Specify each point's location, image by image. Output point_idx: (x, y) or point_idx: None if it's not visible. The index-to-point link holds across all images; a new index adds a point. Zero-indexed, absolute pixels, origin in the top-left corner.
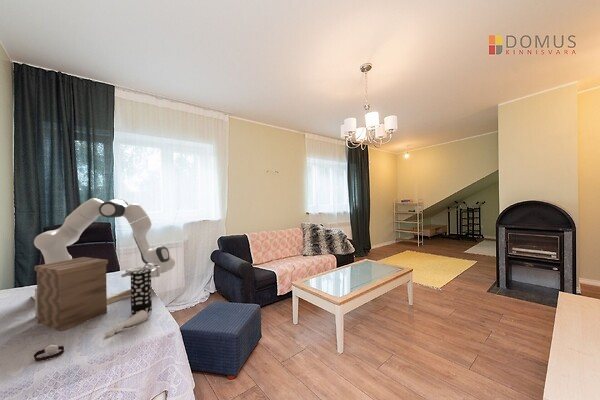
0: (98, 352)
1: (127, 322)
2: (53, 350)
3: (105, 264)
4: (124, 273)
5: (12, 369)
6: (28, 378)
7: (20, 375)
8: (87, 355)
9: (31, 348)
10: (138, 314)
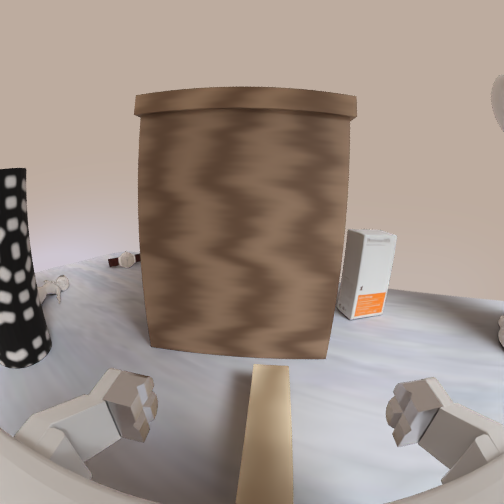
0: (58, 270)
1: None
2: (125, 262)
3: (138, 116)
4: (445, 399)
5: None
6: (112, 254)
7: None
8: (70, 268)
9: None
10: None
